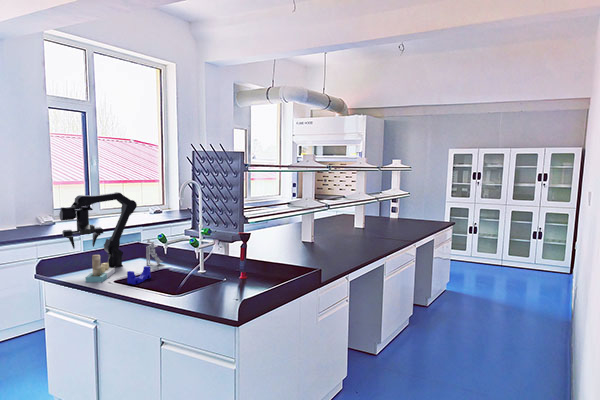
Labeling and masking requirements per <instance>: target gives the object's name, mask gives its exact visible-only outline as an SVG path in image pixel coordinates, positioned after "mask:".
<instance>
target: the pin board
mask: <svg viewBox="0 0 600 400" xmlns="http://www.w3.org/2000/svg"><path fill="white" fill-rule="evenodd" d="M100 267H101V276H94V277H93V271H92V272H91V273H89V274H88V275H86V276H85V277H84V278H85V283H103V282H105V281H106V280H107V279H108V278H110V277H111V276H112V275H113V274H114V273H116V271H115V269H116V267H113V268H110V267H109V263H108V262H101V263H100Z"/></svg>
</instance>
